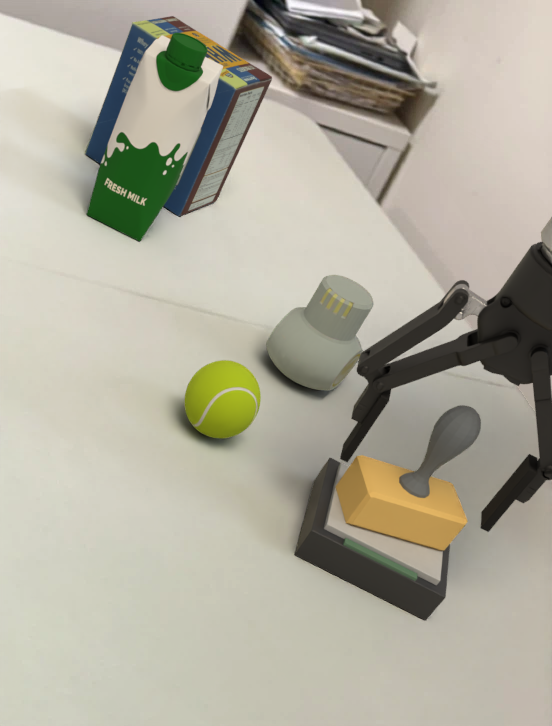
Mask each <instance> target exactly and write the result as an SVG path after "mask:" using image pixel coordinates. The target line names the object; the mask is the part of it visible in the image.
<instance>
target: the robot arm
mask: <svg viewBox="0 0 552 726" xmlns="http://www.w3.org/2000/svg"><path fill="white" fill-rule="evenodd" d="M542 228H543V229H542V230H541V231H540V238H541V241H539V242H537V243H534V244H531V246H530V247H529V248H528V250H527V251H526V253H524V256H523V257H522V259H521V260H519V263H518V264H517V266H516V267H515V268H514V270H513V272H512V273H511V274H510V275H509V277H508V278H507V280H506V281H505V282H504V284H503V286H502V287H501V288H500V290H499V291H498V292H497V293H496V294H495V295H494V296H492V297H491V298H489V299H484V298H483V297H481V296H480V295H478V294H477V293H475V292H474V291H473V290H471V289H470V284H469V282H468V281H467V280H466V279H465V280H464V279H459V280H457V281H456V282H454V284H453V285H452V286H451V287H450V289H449V290H448V291H447V292H446V294H444V296H443V297H442V299H440V301H438V302H437V303H436V304H434V305H432V306H431V307H429V308H428V309H426V310H425V311H423V312H421V313H420V314H419V315H417V316H415V317H414V318H412V319H410V320H409V321H408V322H406V323H405V324H403V325H402V326H400V327H398V328H397V329H395V330H394V331H392V332H391V333H389V334H388V335H386V336H385V337H383V338H381V339H380V340H378V341H376V342H375V343H373V344H372V345H371V346H369V347H367V348H366V349H365V350H363V352H362V353H361V355H360V358H359V360H358V361H357V365H356V374H357V375H359V376H360V377H363V378H364V379H365V380H366V381H367V385H366V386H365V387H364V389H363V391H362V392H361V394H360V395H359V396H358V399H357V400H356V401H355V403H354V405H353V409H352V412H351V420H353V421H355V422H357V423H356V424H355V426H354V427H353V428H352V429H351V431H350V433H349V435H348V436H347V438H346V439H345V440H344V442H343V444H342V448H341V452H340V455H339V460H341V461H343V462H344V463H345V462H346V464H347V463H349V461H350V460H351V458H352V457H353V455H354V454H355V452H357V450H358V448H359V447H360V445H361V443H363V440H364V439H365V438H366V436H367V435H368V433H369V432H370V430H371V428H372V427H373V425H375V423H376V422H377V420H378V418H379V417H380V415H381V414H382V412H383V410H384V409H385V408H386V406H387V405H388V403H389V402H390V399H391V394H392V390H393V389H395V388H398V387H401V386H405V385H407V384H410V383H413V382H415V381H419V380H421V379H424V378H427V377H430V376H433V375H436V374H439V373H442V372H445V371H447V370H450V369H453V368H457V367H460V366H461V367H466V366H469V365H473V364H475V363H478V362H480V364H481V365H482V366H483V367H482V369H483V370H484V371H486V372H489V373H491V374H493V375H494V374H495V375H499V376H502V377H504V379H506V380H507V381H508V382H509V383H511V384H513V385H515V386H517V387H520V385H531V384H532V390H533V401H534V409H535V421H536V433H537V443H538V454H539V458H538V457H537V456H534V455H533V454H531V453H528V454H527V455H526V457H525V458H524V460H523V461H522V462H521V463H520V464H519V466H518V467H517V468H516V469H515V470H514V472H513V473H512V474H511V475H510V476H509V478H508V479H507V480H506V481H505V482H504V484H503V485H502V486H501V487H500V488H499V490H498V491H497V492H496V494H495V495H494V496H493V497H492V498H491V499H490V501H489V502H488V503H487V505H486V506H485V507H484V508H483V510H481V512H480V529H481V530H483V531H485V532H487V533H489V532H490V531H492V528H493V527H495V525H496V524H497V523H498V521H499V520H500V519H501V518H502V517H503V515H504V514H505V513H506V512H507V511H508V510H509V509H510V507H511V506H513V503H514V502H516V501H517V502H519V503H521V504H525V503H527V502H529V501H530V500H531V499H532V498H533V497H534V495H535V494H536V493H537V491H538V490H539V489H541V487H542V486H543V485H544V484H545V482H547V481H552V377H551V376H552V216H551V217H550V218H549V220H548V221H547V223H546V224H545V226H544V227H542ZM468 316H476V317H477V320H476V326H477V327H476V329H473V330H470V331H468V332H465V333H462V334H461V335H459V336H458V337H457V338H455V339H453V340H449V341H446V342H443V343H440V344H439V345H436V346H433V347H431V348H427V349H425V350H422V351H420V352H417V353H414V354H411V355H408V356H406V357H403V358H401V359H398V360H395V359H397V358H398V357H400V356H401V355H403V354H405V353H406V352H408V351H409V350H411V349H413V348H415V347H416V346H417V345H419V344H420V343H422V342H424V341H425V340H427V339H429V338H430V337H432V336H433V335H435V334H436V333H438V332H440V331H441V330H442V329H444V328H446V327H447V326H448V325H449V324H450V323H452V322H453V320H456V321H462V320H464V319H465V318H467V317H468ZM394 360H395V361H394Z"/></svg>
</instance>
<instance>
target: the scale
mask: <svg viewBox="0 0 552 726" xmlns="http://www.w3.org/2000/svg"><path fill="white" fill-rule="evenodd" d="M349 466H350V465H349V464H347V463H345V462H344V461H343V462H342V461H339V460H336V459H334V458H332V457H328V458H327V460H326V462H325V464H324V465H323V466H322V468H321V469H320V471H319V473H318V474H317V475H316V477H315V478H314V479H313V482H312V485H311V486H312V487H311V489H310V494H309V498H308V502H307V506H306V510H305V513H304V518H303V521H302V525H301V528H300V532H299V536H298V540H297V544H296V547H295V553H294V555H295V556H296V557H298V558H300V559H301V560H304V561H306V562H308V563H310V564H312V565H314V566H316V567H318V568H320V569H322V570H324V571H325V572H328V573H330V574H332V575H334V576H336V577H338V578H339V579H342V580H343V581H346V582H348V583H350V584H352V585H354V586H356V587H358V588H360V589H361V590H364V591H366V592H367V593H370V594H371V595H374V596H375V597H377V598H380V599H382V600H384V601H386V602H387V603H390V604H391V605H393V606H396V607H397V608H400V609H402V610H404V611H405V612H408V613H410V614H411V615H414V616H416V617H418V618H420V619H421V620H423V621H427V620H428V619H429V617H431V615H432V614H433V613H434V612H435V611H436V609H437V608H438V607H439V606H440V605H441V604H442V603H443V601H444V600H445V599H446V598H447V585H448V576H449V575H448V574H449V561H450V551H451V543H450V544H449V545H448V547H447V548H446V549H445V550H444V551H443V550H437V549H434V548H430V547H427V546H423V545H420V544H416V543H413V542H410V541H406V540H403V539H399V538H396V537H392V536H389V535H386V534H382V533H379V532H375V531H372V530H368V529H365V528H361V527H358V526H355V525H351V524H348V523H346V522H345V518H344V515H343V511H342V507H341V504H340V500H339V497H338V493H337V490H336V485H337V484H338V482H339V481H340V479H341V478H342V476H343V475H344V474H345V472H346V471H347V469H348V468H349Z"/></svg>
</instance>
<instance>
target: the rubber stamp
mask: <svg viewBox="0 0 552 726" xmlns="http://www.w3.org/2000/svg"><path fill="white" fill-rule="evenodd" d="M481 429H482V419H481V415H480V414H479V412H478V411H477V410H476V409H475V408H474V407H472V406H469V405H464V404H461V405H460V404H459V405H456V406H454V407H451V408H449V409H448V410H445V411H444V412H443V413H442V415H440V416H439V418H438V419H437V421H436V422H435V424H434V426H433V428H432V431H431V434H430V437H429V440H428V444H427V448H426V452H425V455H424V457H423V460H422V462H421V464H420V466H419V467H418V468H417V469H416V470H412V469H409V468H405V467H402V466H398V465H395V464H392V463H388V462H386V461H383V460H379V459H376V458H372V457H370V456H365V455H363V454H361V455H356V456H355V457H354V459H352V462H351V463H350V465H349V468H348V469H347V471H346V472H345V474H344V475H343V476H342V478H341V479H340V481H339V482H338V484H337V485H336V490H337V493H338V497H339V500H340V504H341V507H342V511H343V515H344V518H345V522H346V523H348V524H351V525H355V526H358V527H361V528H365V529H368V530H372V531H375V532H379V533H382V534H386V535H389V536H392V537H396V538H399V539H403V540H406V541H410V542H413V543H416V544H420V545H423V546H427V547H430V548H434V549H437V550H443V551H444V550H445V549H446V548H447V547H448V545H449V544H450V545H451V543H452V542H453V541H454V540H455V538H456V537H457V536H458V535H459V533H461V531H462V530H463V529H464V527H465V526H466V525H467V524H468V522H469V519H468V518H467V515H466V513H465V511H464V508H463V505H462V502H461V500H460V498H459V495H458V493H457V490H456V487H455V486H454V484H453V483H452V482H451V481H448V480H444V479H440V478H439V477H438V478H437V477H435V476H432V475H433V474H434V473H435V472H436V471H437V470H439V469H440V468H441V467H443V466H444V465H445V464H447V463H448V462H450V461H452V460H453V459H456V457H458V456H460V455H461V454H462V453H464V452H465V451H466V450H468V449H469V448H470V447H471V446H472V445H473V444H474V443H475V442H476V440H477V438H478V437H479V435H480V432H481Z"/></svg>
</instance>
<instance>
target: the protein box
mask: <svg viewBox="0 0 552 726" xmlns="http://www.w3.org/2000/svg"><path fill="white" fill-rule="evenodd" d="M173 33H183V34H186V35H189V36H191V37H193V38H195V39H197V40H199V41H200V42H202V43H203V44H204V45H205V46H206V47H207V49H208V51H207V54H206V56H205V57H207V58H209V59H211V60H213V61H214V62H216V63H218V64H220V65H222V66H223V69H222V71H221V74H220V77H219V79H218V84H217V88H216V92H215V95H214V99H213V102H212V105H211V107H210V109H209V110H208V111H207V114H206V117H205V119H204V122H203V124H202V127H201V129H200V131H199V134H198V136H197V138H196V141H195V143H194V145H193V147H192V150H191V152H190V154H189V157H188V159H187V161H186V163H185V166H184V168H183V170H182V173H181V175H180V177H179V180H178V182H177V184H176V186H175V188H174V190H173V192H172V194H171V195H170V197H169V198H168V200H167V201H166V203H165V204H164V206H163V208H166V209H167V210H169V211H170V212H172V213H173V214H175V215H176V216H179V217H181V216H185V215H186V214H189V213H192V212H193V211H196V210H199V209H201V208H203V207H205V206H208V205H211V204H213V203H215V202H217V201H218V198H219V197H220V194H221V192H222V191H223V187H224V185H225V183H226V181H227V180H228V176H229V174H230V172H231V170H232V168H233V167H234V163H235V161H236V159H237V158H238V155H239V153H240V150H241V148H242V146H243V144H244V142H245V139H246V137H247V135H248V133H249V131H250V128H251V126H252V124H253V122H254V120H255V117H256V115H257V113H258V111H259V109H260V107H261V105H262V103H263V101H264V98H265V96H266V94H267V92H268V89H269V87H270V85H271V83H272V81H273V76H271V75H270V74H269V73H267V72H265V71H264V70H262V69H260V68H259V67H257V66H255V65H253V64H252V63H251V62H248V61H247V60H246V59H244V58H242V57H240V56H239V55H237V54H235V53H234V52H232V51H230V50H229V49H227V48H226V47H224V46H223V45H220V44H219V43H218V42H216V41H214V40H213V39H211V38H210V37H208V36H206V35H204V34H203V33H201V32H199V31H198V30H196V29H195V28H193V27H192V26H190V25H188V24H186V23H185V22H183V21H182V20H180V19H179V18H177V17H176V16H174V15H171V16H163V17H159V18H152V19H146V20H139V21H131V26H130V29H129V32H128V33H127V37H126V39H125V43H124V45H123V49H122V51H121V54H120V57H119V59H118V62H117V65H116V67H115V70H114V73H113V76H112V79H111V81H110V84H109V86H108V89H107V92H106V95H105V97H104V100H103V103H102V105H101V107H100V110H99V114H98V117H97V119H96V123H95V124H94V128H93V130H92V133H91V135H90V138H89V140H88V144H87V146H86V149H85V152H84V154H85V155H86V156H88V157H89V158H91V159H92V160H93V161H95V162H97V163H98V164H101V161H102V158H103V156H104V153H105V150H106V147H107V145H108V142H109V140H110V137H111V134H112V132H113V129H114V126H115V124H116V121H117V118H118V116H119V113H120V110H121V108H122V105H123V102H124V100H125V97H126V95H127V92H128V90H129V87H130V85H131V83H132V80H133V78H134V76H135V74H136V72H137V69H138V66H139V63H140V61H141V58H142V57H143V55H144V53H145V51H146V50H147V49H148V48H149V47H150V46H151V45H152V43H153V42H154V41H155V40H156V39H159V38H160V36H162V35H163V36H165V37H167V38H169V39H171V37H172V35H173Z"/></svg>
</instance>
